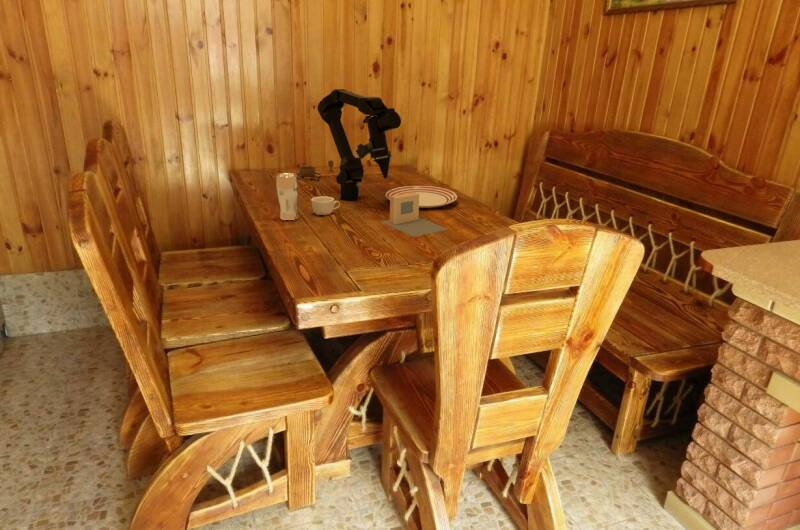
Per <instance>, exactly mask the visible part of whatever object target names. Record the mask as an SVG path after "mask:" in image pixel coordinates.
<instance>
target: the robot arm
mask: <svg viewBox="0 0 800 530" xmlns="http://www.w3.org/2000/svg"><path fill="white" fill-rule="evenodd" d="M345 104H346V105H349V106H352V107H355V108H356V109H357V110H358V112H360V113H362V114H363V115H365V118H364V119H363V121H362V124H366V125H367V130H368V134H369V135H368V136H369V139H368V143H366V144H362V143H360V144H358V145H356V146H357V149H356V150H355V153H356V154H357V156H358V157H356V156H355V155H354V153H353V150H352V149H351V148H352V147H351V146H350V142H349V140H348V137H347V135H346V132H345V129H344V125H343V123H342V114H343V111H342V109H343V108H344V107H345ZM317 112H318V113H319V116H320V117H321V119H322V120H323V121H324V122H325V123H326V124H327V125H328V127H329V130H330V134H331V135H332V138H333V142H334V144H335V147H336V150H337V154H338V156H339V158H340V163H339V173H338V174H337V175H336V177H335V180H336V183H337V184H339V185H340V197H339V200H341V201H342V200H343V201H357V200H358V199H359V197H360V196H361V195H360V185H359V183H362V180H363V177H364V173H365V170H364V168H365V167H364V164H363V163H362V159H364V158H365V157H366V156H368V155H369V154H370V159H371V160H372V159H373V160H372V161H373V162H375V163H376V164H377V165H378V167H379V170H380V172H381V174H382V177H383V179H388V175H389V170H390V163H391V158H392V152H391V151H390V149H389V148H390V147H389V146H388V140H387V138H388V137H387V133H386V132H387V131H388V132H389V131H392V130H396V129H399V127H400V126H401V124H402V117H401V116H400V115H399V113H398V112H397V111H396V110H395V108H394V107H389V108H388V107H387V106H386V104H385V103H384V102H383V99H382V98H381V97H380V96H364V95H360V94H358V93H354V92H352V91H348V90H347V89H344V88H337V89H336V88H335V89H334V90H331V92H330V93H328V94H327V95H326V96H325V97H323V98H322V99H321V100H319V102H318V104H317Z"/></svg>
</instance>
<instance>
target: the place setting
mask: <svg viewBox="0 0 800 530" xmlns="http://www.w3.org/2000/svg"><path fill="white" fill-rule="evenodd" d="M327 165H328V168H329V171H330V172H332V173H333V167H334V160H328V161H327ZM298 169H299V172H296V173H295V174H296V175H299V174H300V175H301V176H297V178H299V179H315V178H319V177H320V178H319V181H321V180H320V179H321V177H322V174H321V173H319V172H317V171H316V167H314V166H310V165H309V166H308V165H304V166H300V167H299V168H298ZM330 172H329V173H330ZM315 174H318V175H320V176H315ZM313 176H314V177H313ZM303 177H310V178H303ZM299 179H298V180H299ZM315 180H316V179H315Z"/></svg>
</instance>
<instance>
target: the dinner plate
mask: <svg viewBox="0 0 800 530" xmlns="http://www.w3.org/2000/svg"><path fill="white" fill-rule="evenodd" d="M413 192H415V193H418V194H419V209H432V208H433V209H434V208H439V207H443V206H448V205H449V204H451V203H454V202H455V201H456V200H457V199H458V195H457V194H456V192H454V191H452V190H450V189H446V188H443V187H438V186H433V185H432V186H430V185H407V186H399V187H395V188H393V189H389V190H388V191H387V192H386V193H385V198H386V199H387V201H388V200H389V201H390V196H394V195H401V194H407V193H413Z"/></svg>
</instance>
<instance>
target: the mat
mask: <svg viewBox="0 0 800 530" xmlns="http://www.w3.org/2000/svg"><path fill="white" fill-rule="evenodd" d="M382 223H383V224H385V225H387V226H389V227H392V228H394V229H396V230H399V231H400V232H402V233H404V234H407V235H408V236H412V237H413V238H415V237H420V236H424V235H428V234H429V235H430V234H433V233H438V232H443V231H448V230H449V229H448V228H446V227H444V226H441V225H439V224H436V223H433V222H432V221H429V220H428V219H424V218H422V217H419V216H418V220H415V221H409V222H404V223H399V224H392V223H390V219H389V220H386V221H382Z"/></svg>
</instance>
